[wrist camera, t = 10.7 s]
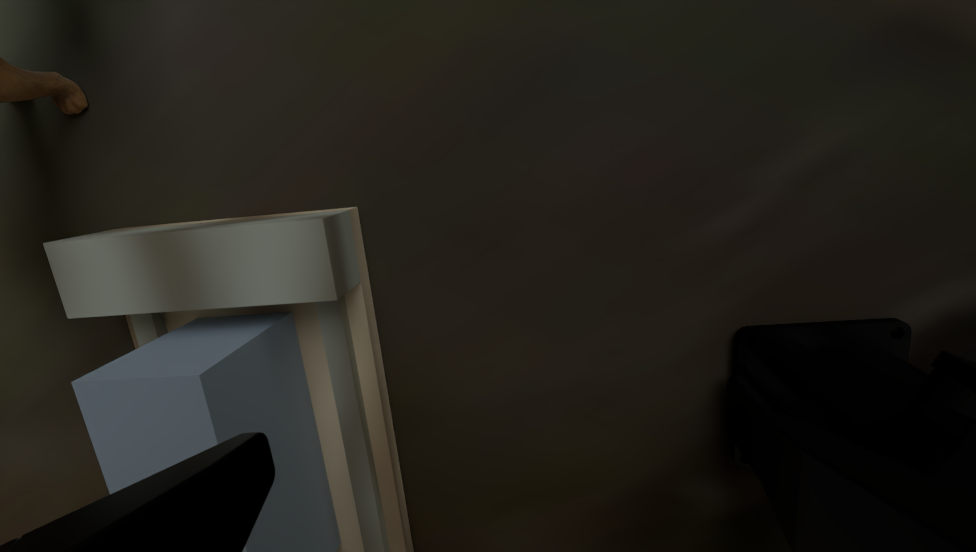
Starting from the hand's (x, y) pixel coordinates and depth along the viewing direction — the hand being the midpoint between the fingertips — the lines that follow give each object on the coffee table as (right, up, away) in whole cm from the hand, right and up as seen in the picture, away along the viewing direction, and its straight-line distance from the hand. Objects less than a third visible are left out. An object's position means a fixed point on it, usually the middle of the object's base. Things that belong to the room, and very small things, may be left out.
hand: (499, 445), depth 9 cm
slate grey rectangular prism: (-10, -4, +14) cm, 17 cm away
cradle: (-10, -6, +15) cm, 19 cm away
